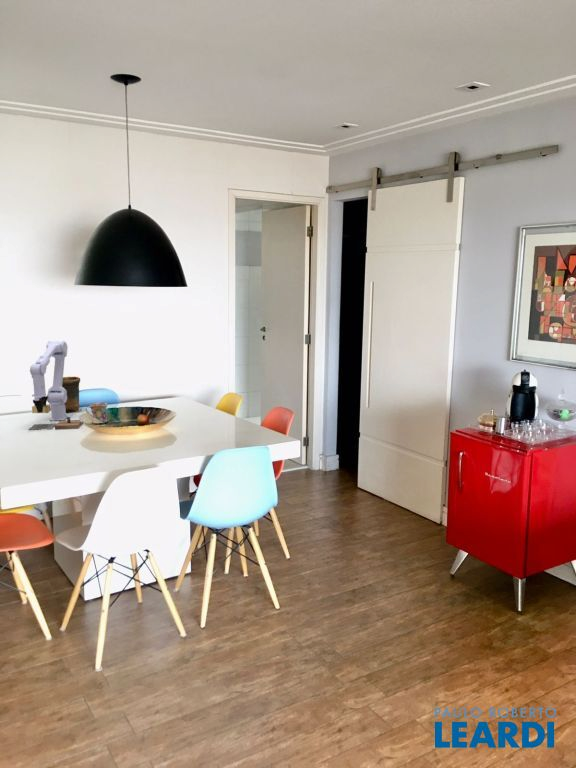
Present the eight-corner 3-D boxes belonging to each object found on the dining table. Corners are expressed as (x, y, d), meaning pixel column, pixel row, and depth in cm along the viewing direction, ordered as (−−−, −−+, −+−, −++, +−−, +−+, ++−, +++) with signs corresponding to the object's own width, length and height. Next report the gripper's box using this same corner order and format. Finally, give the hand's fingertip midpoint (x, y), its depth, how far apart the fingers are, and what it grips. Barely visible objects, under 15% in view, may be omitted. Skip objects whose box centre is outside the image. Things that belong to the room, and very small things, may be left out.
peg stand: (60, 424, 363) (59, 415, 362) (83, 423, 364) (82, 414, 364) (55, 429, 352) (54, 420, 351) (78, 428, 353) (77, 419, 352)
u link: (50, 410, 359) (50, 404, 359) (47, 413, 354) (47, 406, 353) (35, 411, 359) (34, 404, 358) (32, 413, 353) (31, 406, 353)
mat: (34, 424, 363) (34, 424, 363) (57, 424, 364) (57, 423, 364) (28, 430, 351) (28, 429, 351) (51, 429, 352) (51, 428, 352)
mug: (111, 421, 368) (109, 402, 367) (105, 425, 359) (104, 405, 357) (89, 421, 369) (88, 402, 367) (83, 425, 360) (82, 406, 358)
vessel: (85, 407, 405) (82, 375, 401) (79, 413, 391) (76, 380, 387) (61, 408, 404) (58, 376, 400) (54, 414, 390) (51, 381, 386)
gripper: (35, 384, 361) (37, 408, 363) (27, 389, 346) (30, 414, 349) (48, 383, 361) (50, 408, 364) (41, 388, 347) (43, 414, 349)
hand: (41, 411), depth 356 cm, fingers closed on u link, 6 cm apart
